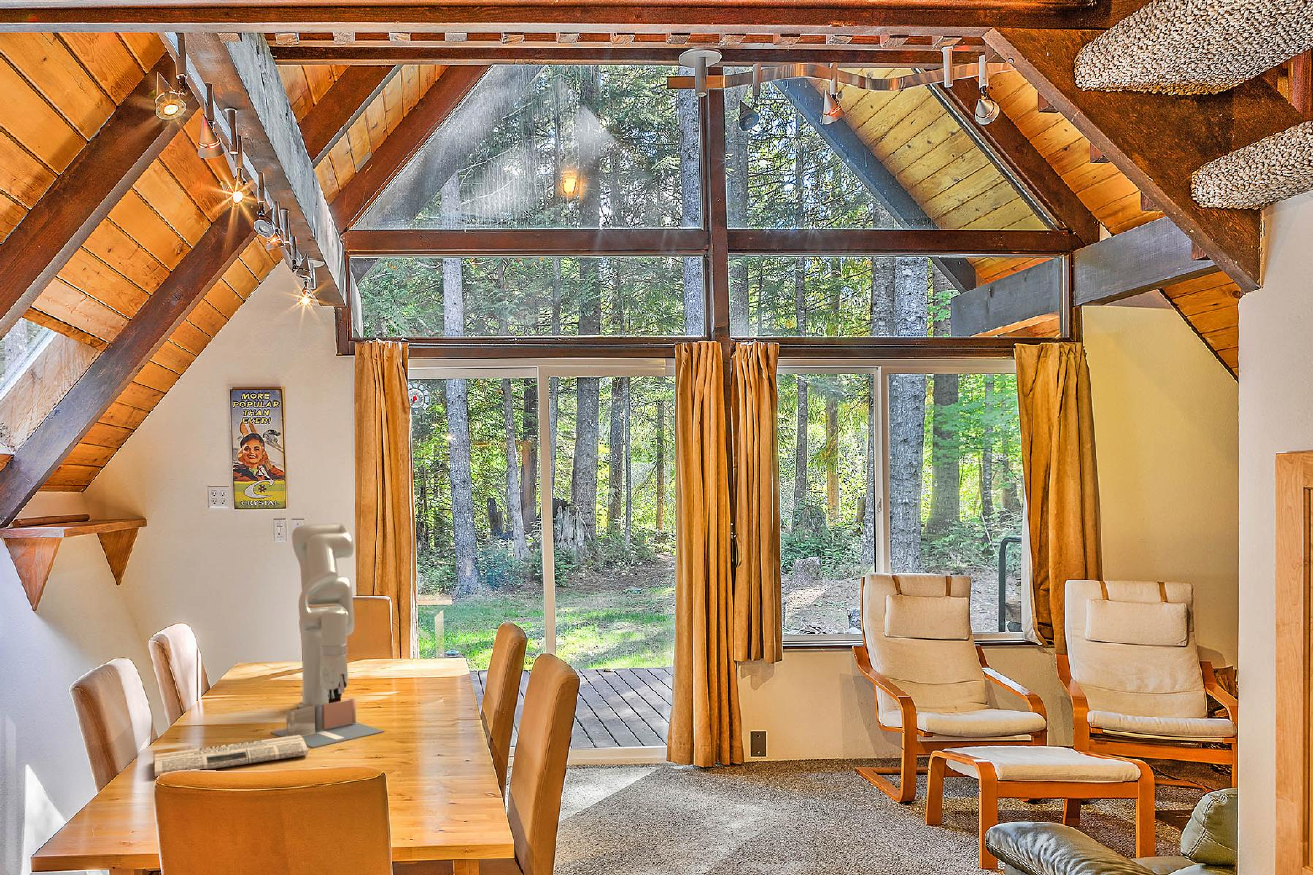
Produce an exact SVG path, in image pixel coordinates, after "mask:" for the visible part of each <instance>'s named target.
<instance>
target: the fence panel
mask: <svg viewBox="0 0 1313 875" xmlns="http://www.w3.org/2000/svg"><path fill="white" fill-rule="evenodd" d="M356 700H357V699H356V698H349V699H344V700H341V701H338V702H333V703H328V704H323V705H317V706H315V731H319V730H322V729H328V728H333V727H337V726H342V725H347V724H351V723H356V722H357V720H356V719H357V711H356V707H357V706H356Z"/></svg>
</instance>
